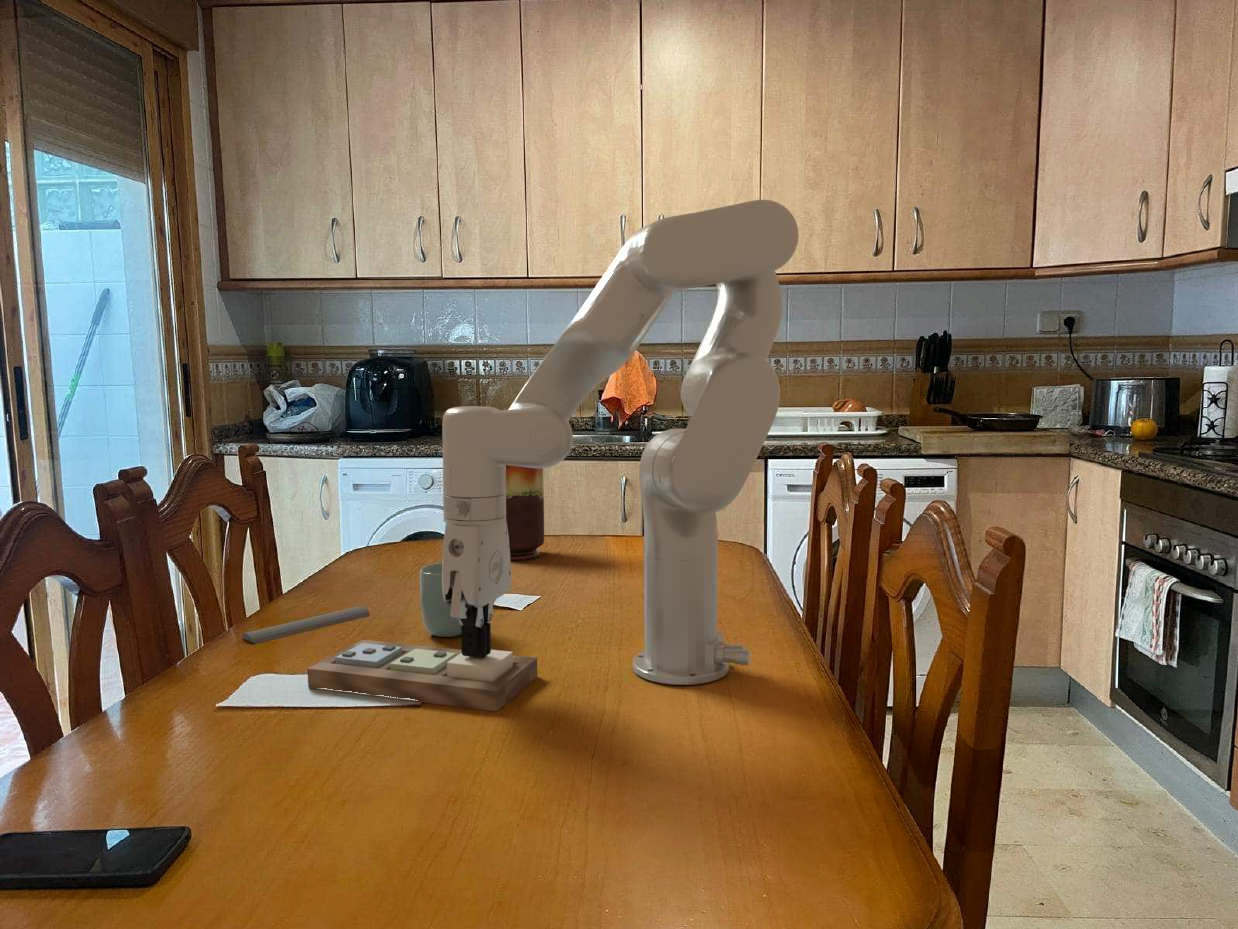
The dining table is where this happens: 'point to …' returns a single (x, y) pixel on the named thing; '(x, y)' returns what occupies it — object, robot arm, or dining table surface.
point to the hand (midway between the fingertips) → (476, 654)
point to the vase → (524, 511)
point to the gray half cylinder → (305, 625)
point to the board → (423, 681)
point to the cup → (436, 604)
